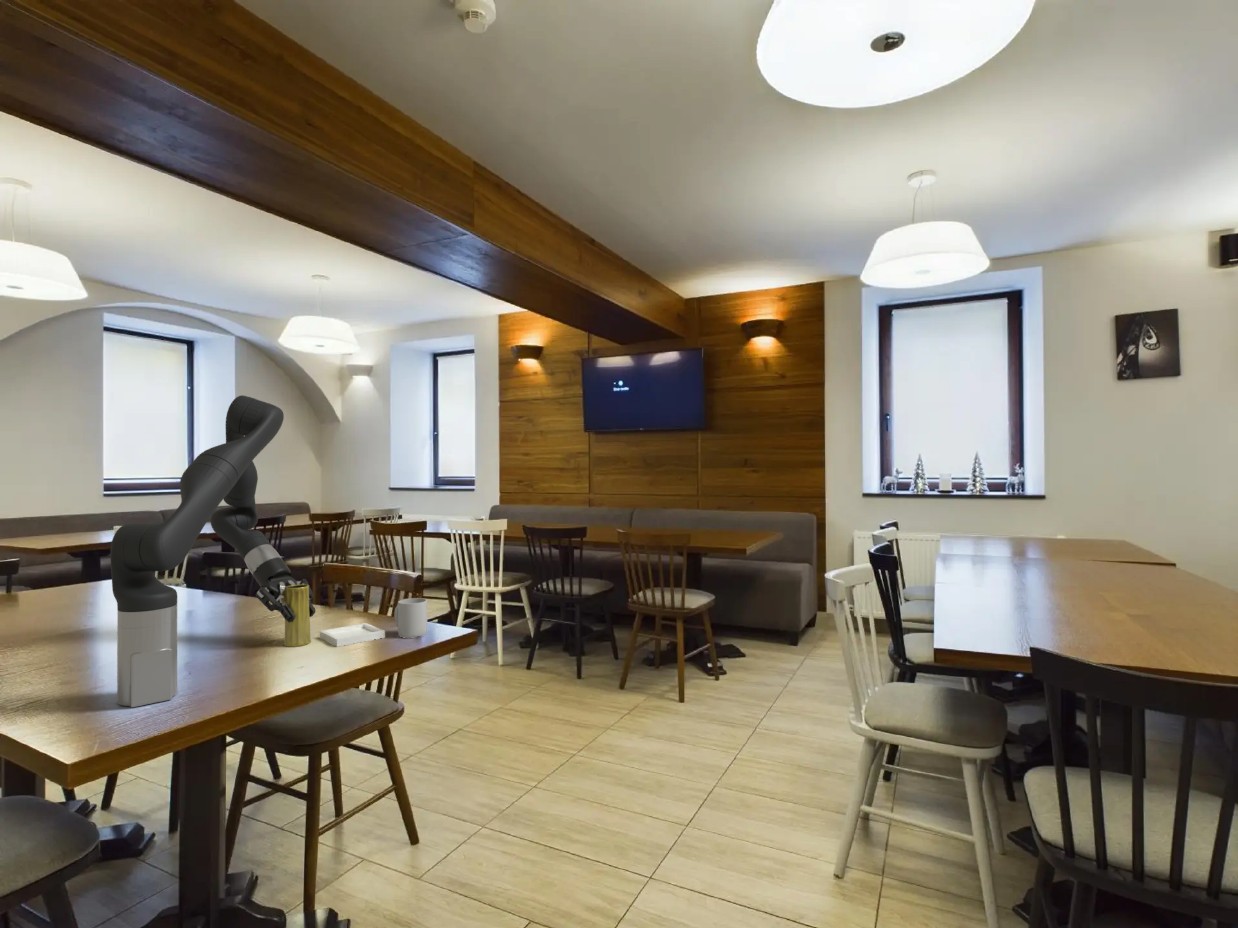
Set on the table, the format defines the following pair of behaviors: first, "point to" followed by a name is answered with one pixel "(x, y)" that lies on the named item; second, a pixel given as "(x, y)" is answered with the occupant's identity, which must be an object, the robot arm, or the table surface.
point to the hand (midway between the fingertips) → (302, 617)
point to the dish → (351, 634)
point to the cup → (411, 617)
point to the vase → (298, 616)
